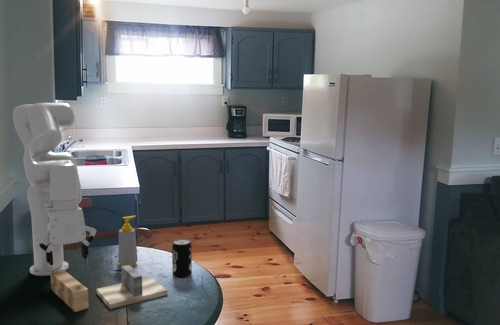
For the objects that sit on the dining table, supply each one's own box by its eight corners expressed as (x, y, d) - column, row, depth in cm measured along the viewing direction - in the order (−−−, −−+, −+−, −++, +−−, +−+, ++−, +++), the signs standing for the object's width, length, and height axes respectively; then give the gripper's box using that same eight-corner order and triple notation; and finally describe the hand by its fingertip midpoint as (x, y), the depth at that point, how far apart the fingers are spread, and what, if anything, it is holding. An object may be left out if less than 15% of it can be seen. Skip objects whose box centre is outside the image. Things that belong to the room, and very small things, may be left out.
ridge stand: (96, 293, 144) (95, 270, 143) (151, 280, 154) (150, 259, 153) (110, 309, 134) (109, 284, 133) (167, 294, 144) (167, 271, 143)
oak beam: (51, 290, 147) (50, 272, 146) (64, 287, 149) (63, 269, 148) (75, 312, 132) (74, 292, 131) (88, 308, 134) (88, 289, 134)
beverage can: (188, 279, 156) (187, 245, 154) (169, 277, 157) (169, 243, 155) (194, 272, 162) (194, 239, 161) (176, 270, 164) (176, 238, 162)
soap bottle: (140, 265, 169) (139, 217, 166) (122, 269, 164) (121, 220, 162) (133, 259, 174) (132, 213, 171) (115, 263, 170) (113, 216, 167)
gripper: (35, 210, 128) (39, 270, 130) (98, 203, 138) (100, 258, 140) (30, 206, 134) (34, 263, 136) (91, 199, 144) (93, 252, 146)
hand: (68, 260), depth 138 cm, fingers open, 9 cm apart
